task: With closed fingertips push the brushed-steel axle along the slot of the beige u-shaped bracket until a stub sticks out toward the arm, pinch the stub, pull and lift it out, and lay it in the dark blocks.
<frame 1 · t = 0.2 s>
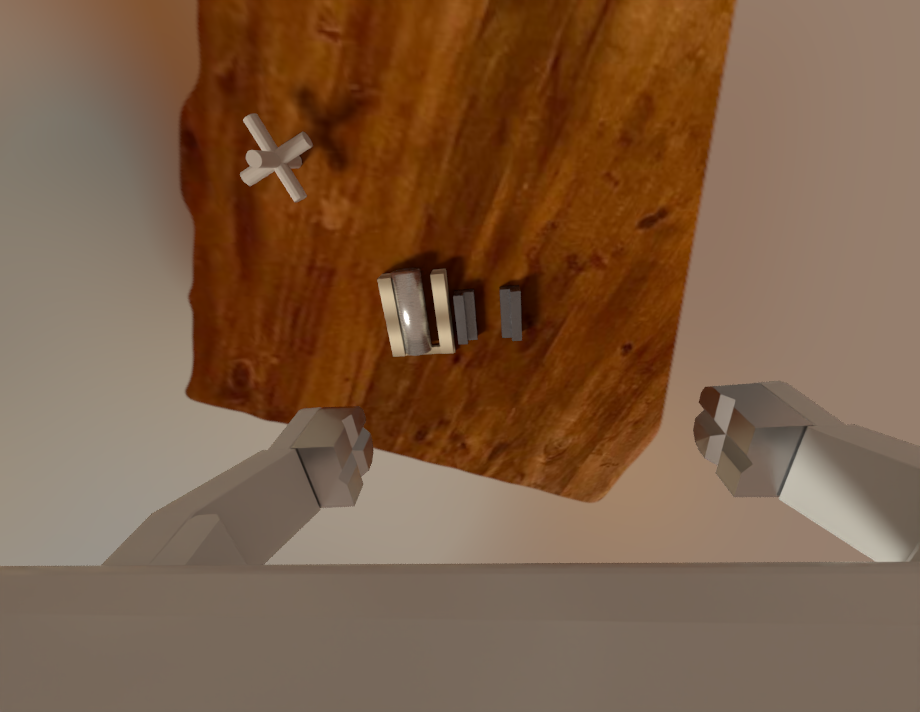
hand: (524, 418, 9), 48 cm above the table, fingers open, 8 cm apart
axle: (412, 312, 57), point 2 cm above the table, tilted 21°
beige u-shaped bracket: (420, 310, 59), on the table
dark blocks: (488, 311, 58), on the table
pipe connector: (296, 160, 50), on the table
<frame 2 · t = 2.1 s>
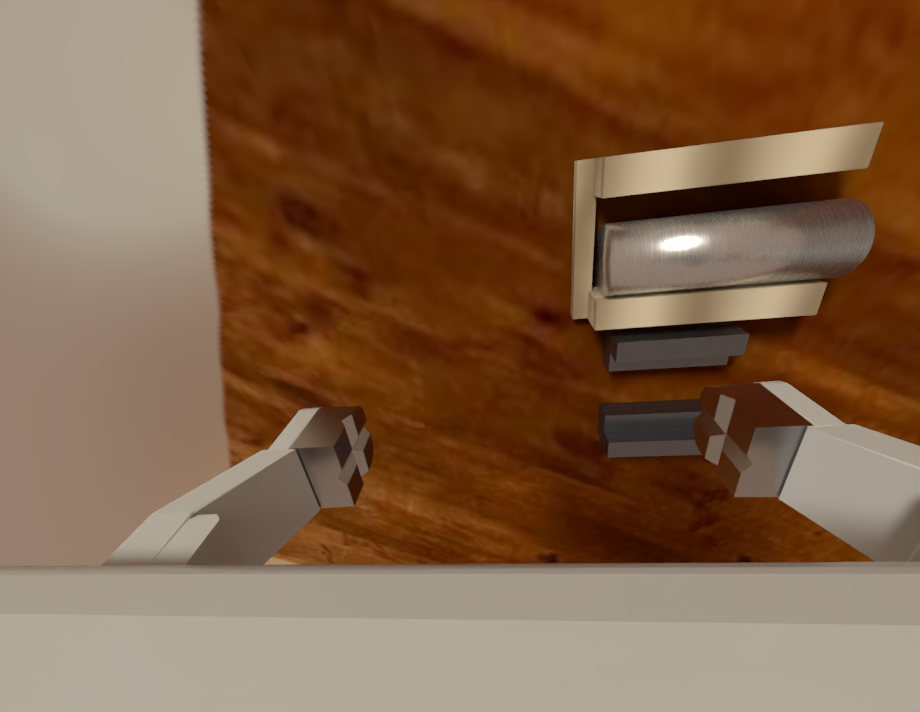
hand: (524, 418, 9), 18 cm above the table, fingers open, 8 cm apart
axle: (715, 250, 22), point 2 cm above the table, tilted 21°
beige u-shaped bracket: (692, 233, 23), on the table
dark blocks: (654, 380, 28), on the table
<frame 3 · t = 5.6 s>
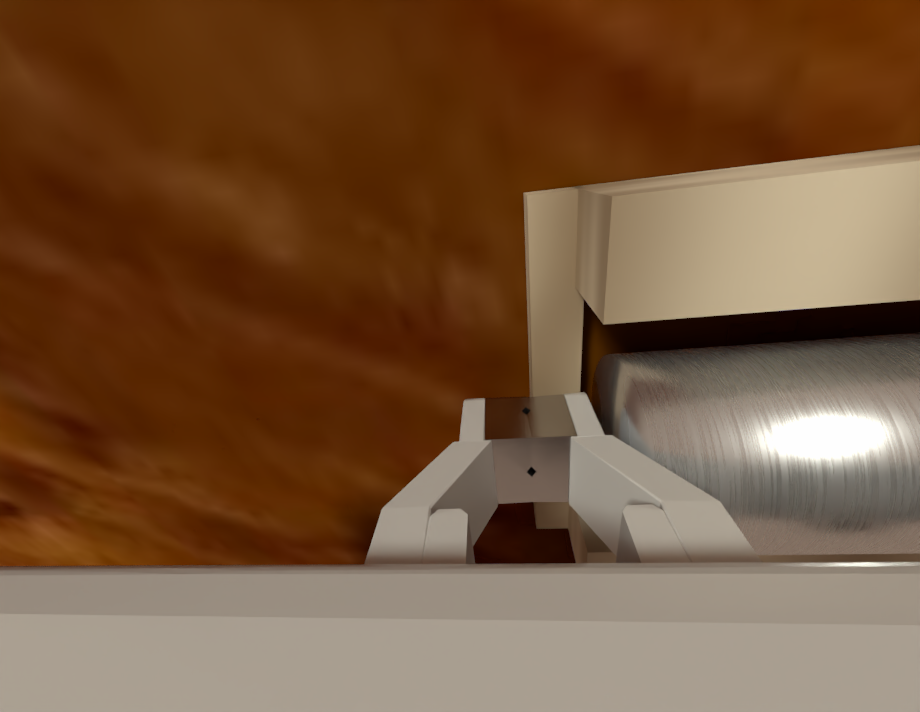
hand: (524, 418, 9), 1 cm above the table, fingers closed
beige u-shaped bracket: (822, 367, 9), on the table
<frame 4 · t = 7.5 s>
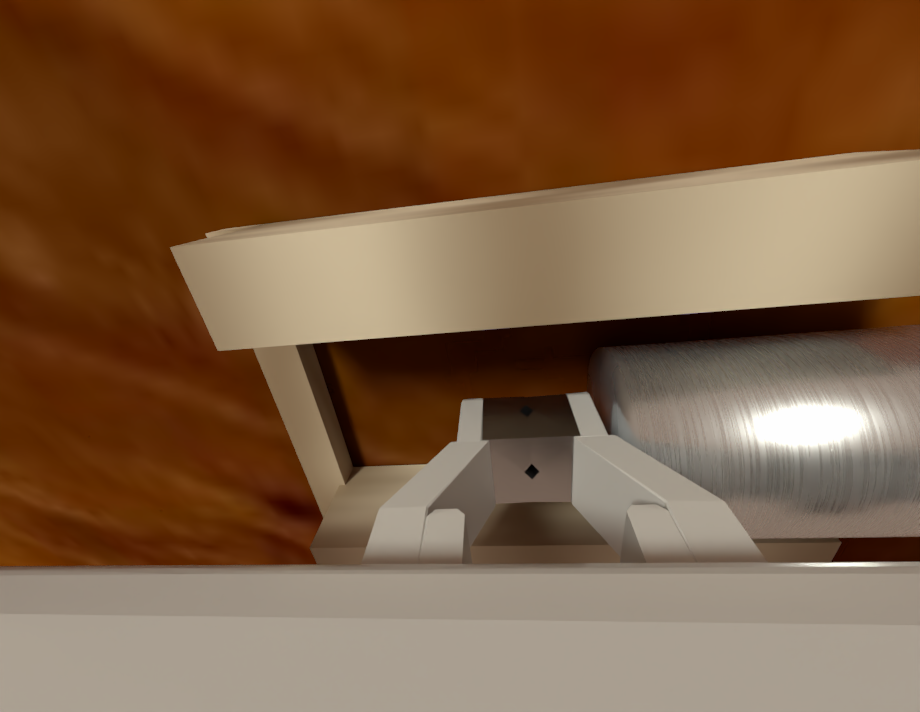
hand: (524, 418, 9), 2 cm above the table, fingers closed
axle: (912, 424, 8), point 2 cm above the table, tilted 14°, touching gripper
beige u-shaped bracket: (537, 381, 10), on the table
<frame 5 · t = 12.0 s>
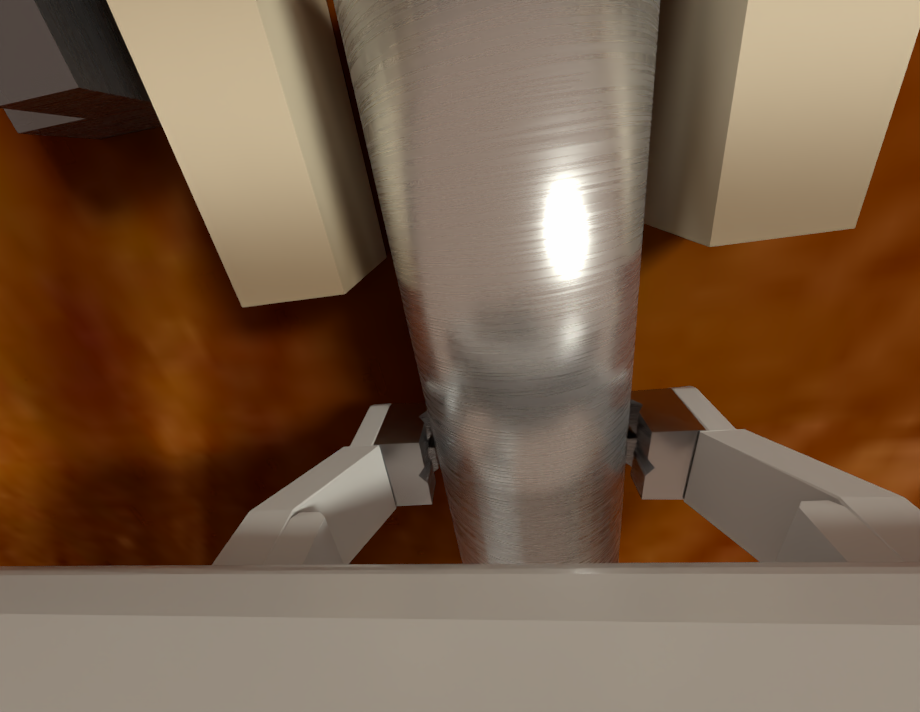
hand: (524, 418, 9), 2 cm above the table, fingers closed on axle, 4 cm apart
axle: (517, 326, 7), point 2 cm above the table, touching gripper
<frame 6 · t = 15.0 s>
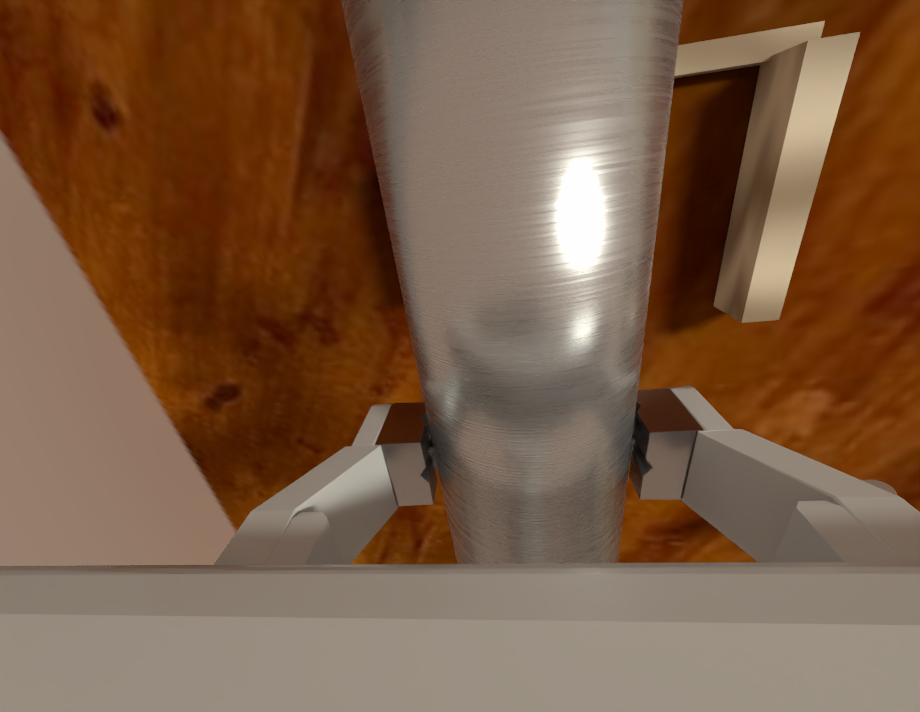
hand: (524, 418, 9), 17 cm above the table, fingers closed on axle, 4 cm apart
axle: (521, 318, 7), point 17 cm above the table, touching gripper
beige u-shaped bracket: (679, 206, 21), on the table
when the fingers open (4 cm above the table, at t = 17.7 s): axle drops 2 cm, resting on dark blocks.
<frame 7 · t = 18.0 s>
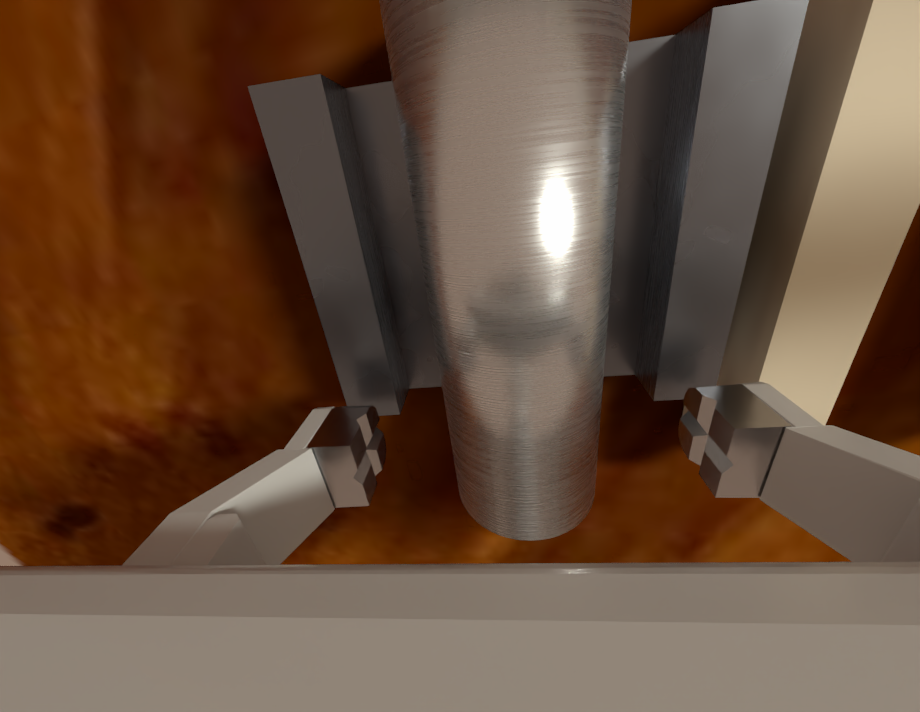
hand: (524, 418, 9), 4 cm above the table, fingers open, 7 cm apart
axle: (515, 291, 9), point 3 cm above the table, touching dark blocks
beige u-shaped bracket: (905, 236, 10), on the table
dark blocks: (508, 241, 11), on the table
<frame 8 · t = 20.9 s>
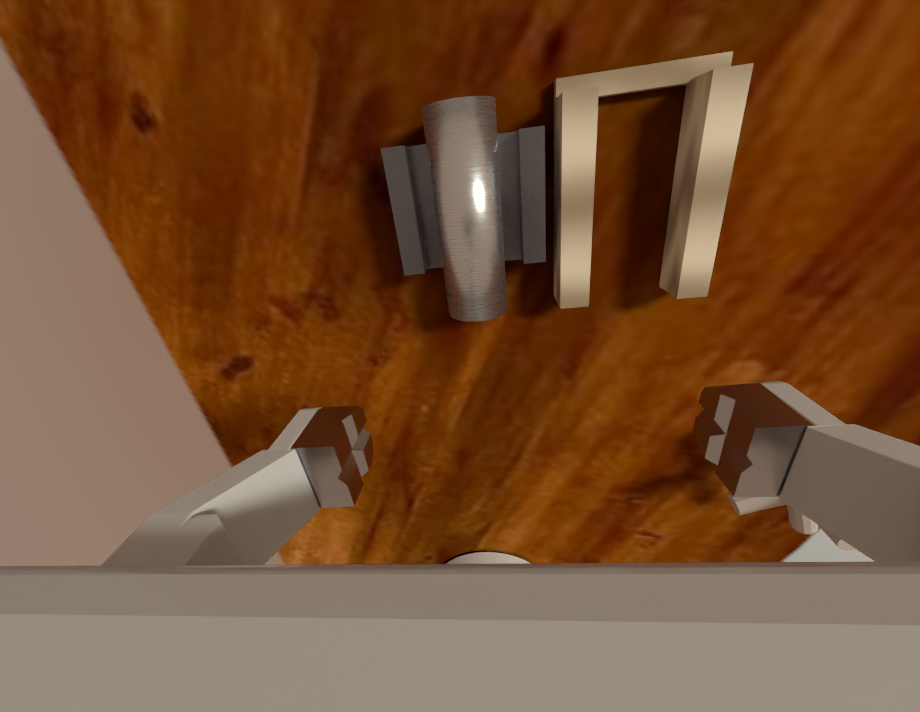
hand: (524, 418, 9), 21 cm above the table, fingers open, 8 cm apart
axle: (469, 219, 24), point 3 cm above the table, touching dark blocks
beige u-shaped bracket: (626, 200, 26), on the table
dark blocks: (469, 204, 26), on the table
pipe connector: (757, 444, 34), on the table
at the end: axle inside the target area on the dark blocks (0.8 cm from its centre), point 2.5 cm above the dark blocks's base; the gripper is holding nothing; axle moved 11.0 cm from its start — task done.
